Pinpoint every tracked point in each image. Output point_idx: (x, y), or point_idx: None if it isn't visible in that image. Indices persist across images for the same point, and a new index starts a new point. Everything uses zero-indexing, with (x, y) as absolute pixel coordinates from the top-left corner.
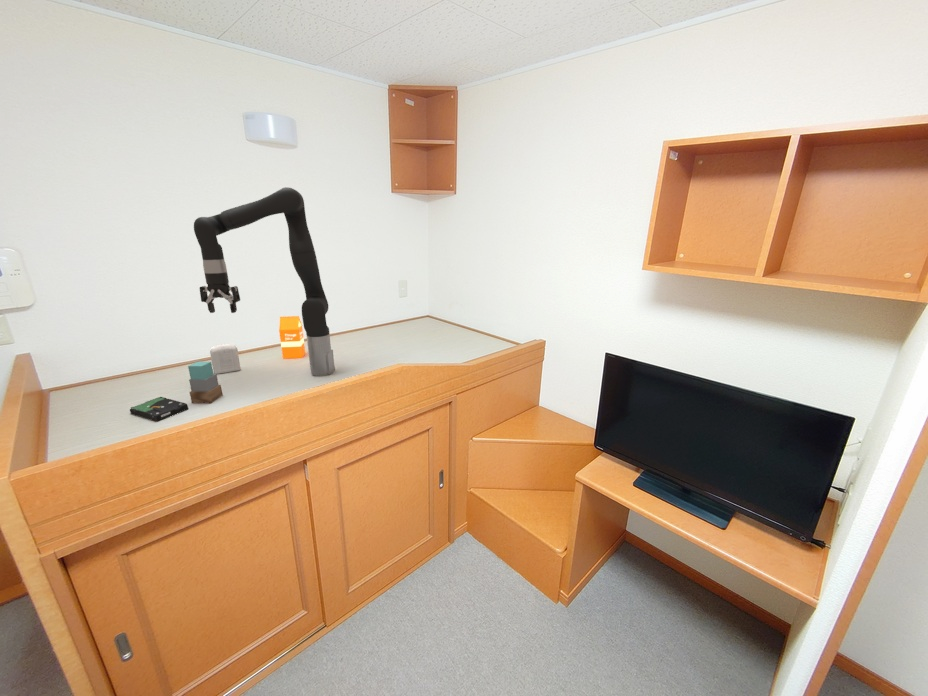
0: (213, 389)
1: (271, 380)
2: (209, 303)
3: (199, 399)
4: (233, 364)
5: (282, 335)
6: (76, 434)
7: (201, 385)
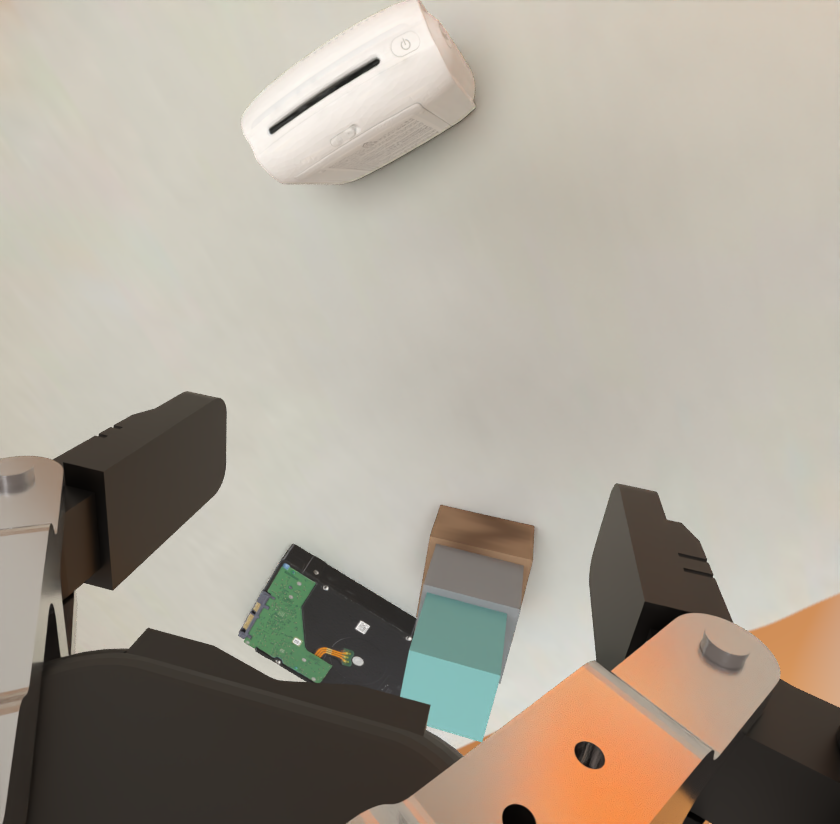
0: None
1: (766, 352)
2: (81, 565)
3: None
4: (440, 126)
5: None
6: None
7: None
